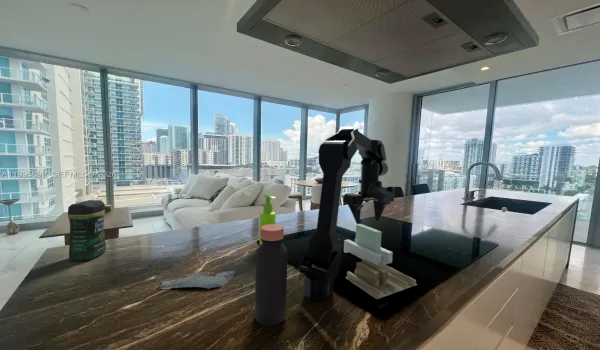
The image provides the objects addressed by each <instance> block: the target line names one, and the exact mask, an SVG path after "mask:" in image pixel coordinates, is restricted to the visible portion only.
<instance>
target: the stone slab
mask: <svg viewBox="0 0 600 350" xmlns="http://www.w3.org/2000/svg"><path fill="white" fill-rule="evenodd" d="M235 272H236V270H229V271H223V272H218V273H216V274H215V272H212V271H211V272H209V273H208V274H207V273H205V272H195V273H191V274H186V275H185V277H179V278H176V279H169V280H166V281H161V282H160V283H159V285H158V287H157V288H156V289H159V290H170V289H173V288H174V289H180V288H205V289H208V290H209V289H212V288H222V287H224V286H225V284H227V283H229V281H230V280H232V279H234V275H235ZM209 274H215V276H212V275H211V276H210V275H209ZM175 275H177V273H175Z"/></svg>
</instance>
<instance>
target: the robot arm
mask: <svg viewBox="0 0 600 350" xmlns="http://www.w3.org/2000/svg"><path fill="white" fill-rule="evenodd" d="M357 151H358V155H359V156H360V157H361V159H362V160H361V162H360V165H361V175H360V177H361V178H360V179H359V180H358V183H359V184H360V191H357V192H358V193H345V194H344V195H343V196H342V202H343V203H345V205H347V206H348V208H349V209H350V212H351V214H352V216H353V219H354V221H355V224H360V221H361V211H362V208H364V205H363V203H364V202H366V201H367V202H368V201H373V211H374V217H375V221H376V222H379V221H380V218H381V217H382V214H383V212H384V210H385V208H386V207H387V206H389V205H390V204H391V203H392V202H394V200H395V197H396V188H395V187H394V186H388V187H384V186H383V185H382V184H383V183H382V181H381V180H380V177H382V176H385V175H387V174H388V171H389V166H388V164H387V156H386V150H385V144H384V143H383V141H381V139H380V140H378V139H370V138H369V137H368V136H367V135H364V134H363V133H362V132H361V131H360V130H359V129H358V128H356V127H342V128H340V129H338V131H337V132H336V133H335V134H333V135H331V136H329V137H327V138H326V139H325V140H324V141H323V142H322V143H321V144H320V145H319V148H318V165H319V167H320V169H321V172H322V174H323V175H322V176H323V177H322V183H321V191H320V198H319V207H318V214H317V221H316V223H317V224H316V231H314V233H312V235H311V237H310V238H309V239H308V242H307V246H306V249H305V251H304V253H303V256H302V257H301V260H300V261H299V264H298V266H297V269H298V272H299V273H300V274H303V276H304V279H303V296H304V298H306V299H307V300H308V301H309V302H311V303H312V302H314V303H315V302H316V303H321V302H325V301H327V300H329V298H330V297H331V296H332V295H333V294H334V280H335V279H336V278H338V277H339V272H340V266H341V261H342V245H343V240H342V239H341V238H339V237H338V234H337V227H338V226H337V225H338V216H339V210H340V209H339V208H340V200H341V192H342V183H343V176H344V175H345V174H346V172H347V171H348V170H349V168H350V167H351V163H352V159H353V158H354V156H355V155H356V153H357Z"/></svg>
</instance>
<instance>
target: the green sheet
mask: <svg viewBox="0 0 600 350" xmlns="http://www.w3.org/2000/svg"><path fill="white" fill-rule="evenodd" d="M355 224H356V225H355V238H356V241H355V240H354V242H355V243H357V244H359V245H361V246H363V247H366V248H368V249H370V250H372V251H374V252H376V253H378V254H380V250H381V247H382V231H380V230H379V229H376V228H373V227H370V226H367V225H365V224H362V223H359V224H357V223H355Z"/></svg>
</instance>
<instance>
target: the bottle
mask: <svg viewBox="0 0 600 350" xmlns="http://www.w3.org/2000/svg"><path fill="white" fill-rule="evenodd" d="M284 229H285V228H284V226H282V225H279V224H276V223H275V224H269V225H264V226H262V227H261V233H260V232H259V238H260V237H261V241H262V244H261V245H260V244H259V245H258V246H257V248H256V250H255V289H254V290H255V291H254V293H255V295H254V304H255V305H254V318H255V321H256V322H257V323H258V324H260V325H262V326H265V327H266V326H267V327H272V326H273V327H274V326H276V325H279V324H281V323H283V321H284V320H285V319H286V316H287V289H288V288H287V286H288V285H287V284H288V283H287V282H288V281H287V280H288V249H287V247H286V246H285V244H283V240H284V236H285V235H284ZM260 234H261V236H260Z"/></svg>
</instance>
